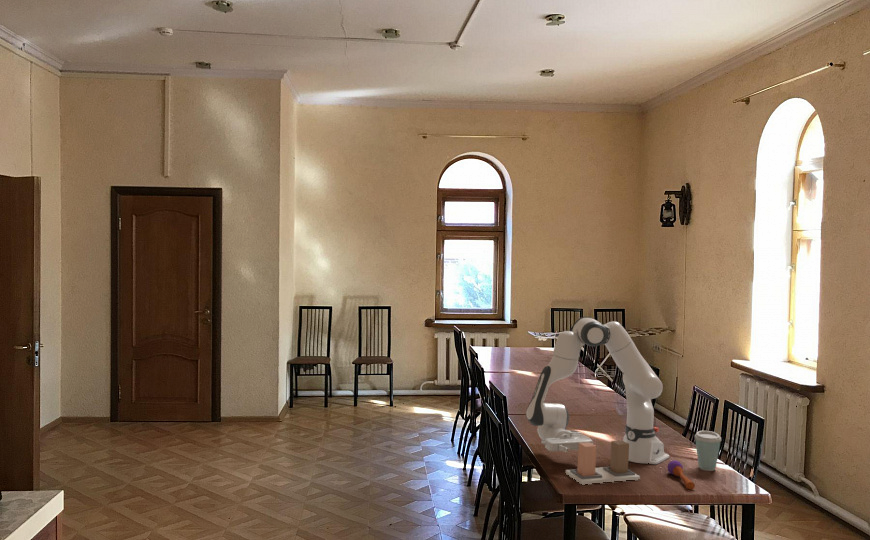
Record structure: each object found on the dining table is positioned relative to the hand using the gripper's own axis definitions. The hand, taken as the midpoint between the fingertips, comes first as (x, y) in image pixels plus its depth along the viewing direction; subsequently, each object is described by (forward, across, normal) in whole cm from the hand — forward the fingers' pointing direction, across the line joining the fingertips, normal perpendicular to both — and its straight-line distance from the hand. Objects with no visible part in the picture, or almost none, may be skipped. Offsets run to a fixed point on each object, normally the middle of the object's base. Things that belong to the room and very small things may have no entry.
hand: (578, 449), depth 282 cm
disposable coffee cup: (+7, +58, +9) cm, 59 cm away
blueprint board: (+7, +8, +9) cm, 14 cm away
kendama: (+18, +37, +10) cm, 42 cm away
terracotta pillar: (+7, 0, +8) cm, 10 cm away
